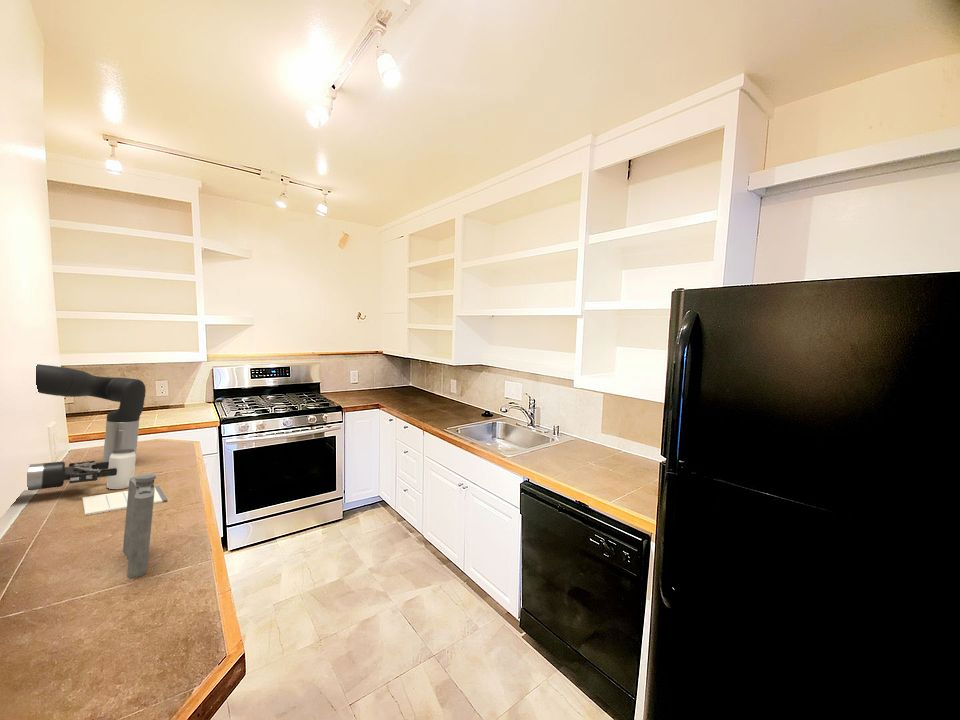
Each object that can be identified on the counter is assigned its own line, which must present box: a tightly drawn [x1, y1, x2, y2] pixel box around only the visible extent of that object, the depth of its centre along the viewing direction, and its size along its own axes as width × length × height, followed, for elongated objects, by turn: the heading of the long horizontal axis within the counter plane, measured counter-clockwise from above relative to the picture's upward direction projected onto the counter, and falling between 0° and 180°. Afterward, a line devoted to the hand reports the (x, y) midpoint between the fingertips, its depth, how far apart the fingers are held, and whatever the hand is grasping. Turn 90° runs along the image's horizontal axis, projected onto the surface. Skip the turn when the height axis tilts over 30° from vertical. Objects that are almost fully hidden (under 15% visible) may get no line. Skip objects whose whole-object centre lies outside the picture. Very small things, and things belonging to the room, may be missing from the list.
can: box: [106, 449, 137, 491], centre depth 127 cm, size 6×6×12 cm
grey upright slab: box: [122, 473, 156, 579], centre depth 89 cm, size 16×4×20 cm, turn 46°
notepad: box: [82, 485, 168, 517], centre depth 118 cm, size 14×18×1 cm
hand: (115, 467), depth 126 cm, fingers open, 8 cm apart
